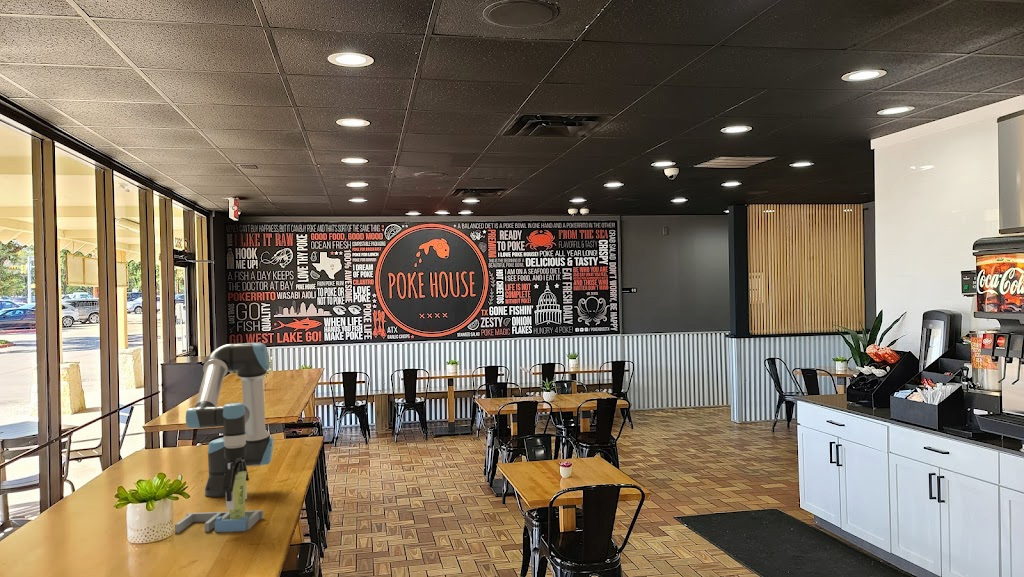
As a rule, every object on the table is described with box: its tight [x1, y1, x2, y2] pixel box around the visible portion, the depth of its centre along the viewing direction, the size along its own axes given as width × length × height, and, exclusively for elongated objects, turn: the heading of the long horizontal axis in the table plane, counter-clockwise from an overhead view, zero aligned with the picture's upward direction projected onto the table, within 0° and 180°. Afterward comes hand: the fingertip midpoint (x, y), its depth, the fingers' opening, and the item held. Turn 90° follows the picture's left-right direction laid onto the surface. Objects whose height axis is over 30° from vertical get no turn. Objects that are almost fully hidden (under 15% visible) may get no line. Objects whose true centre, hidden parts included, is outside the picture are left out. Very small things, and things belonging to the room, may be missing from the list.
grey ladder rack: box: [174, 509, 264, 534], centre depth 273 cm, size 15×28×5 cm, turn 92°
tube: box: [229, 470, 248, 519], centre depth 272 cm, size 6×5×20 cm
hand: (236, 504), depth 272 cm, fingers open, 13 cm apart
